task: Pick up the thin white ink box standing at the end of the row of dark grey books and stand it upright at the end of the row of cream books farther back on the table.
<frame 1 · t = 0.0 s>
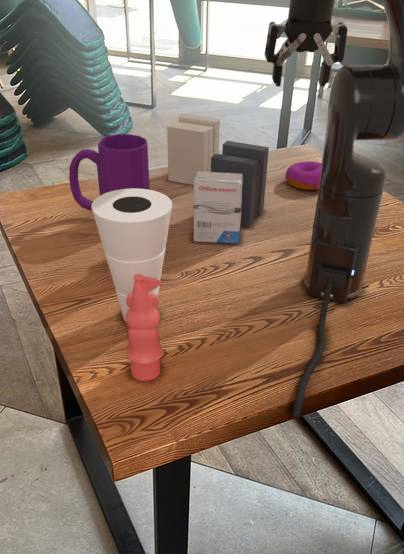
hand: (299, 84, 108), 22 cm above the table, tool pointing down, fingers open, 8 cm apart
donut: (307, 185, 128), on the table
cup: (139, 317, 87), on the table
ink box: (216, 238, 108), on the table
mug: (112, 218, 114), on the table
cream books: (193, 177, 130), on the table
grey books: (236, 215, 115), on the table
figurine: (146, 371, 77), on the table
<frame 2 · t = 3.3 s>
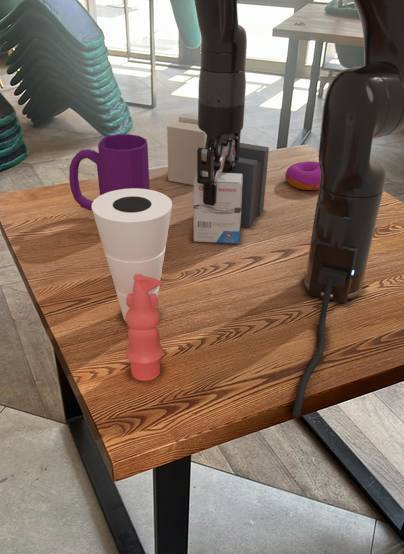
hand: (217, 195, 103), 8 cm above the table, tool pointing down, fingers open, 7 cm apart
nothing on the table moved.
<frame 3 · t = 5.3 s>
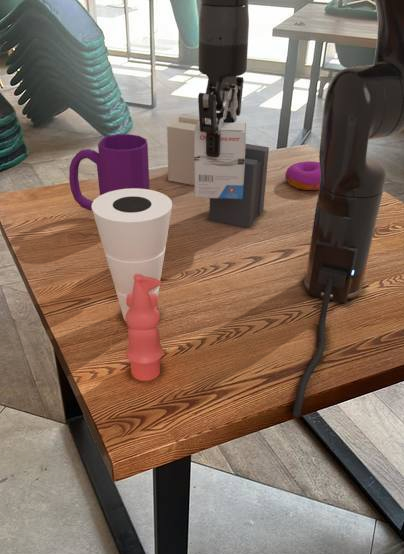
hand: (220, 150, 97), 16 cm above the table, tool pointing down, fingers closed on ink box, 5 cm apart
ink box: (219, 194, 102), point 9 cm above the table, touching gripper
everything else where it was.
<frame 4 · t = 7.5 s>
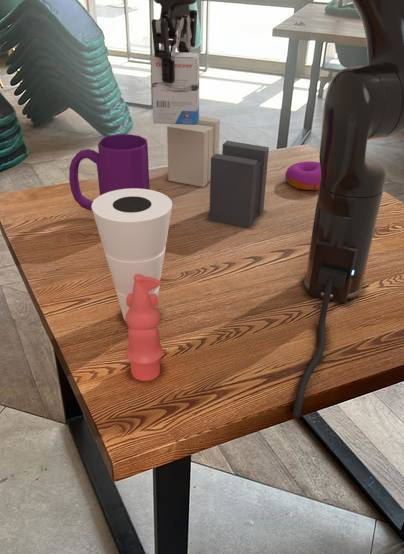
hand: (176, 78, 107), 23 cm above the table, tool pointing down, fingers closed on ink box, 5 cm apart
ink box: (176, 121, 112), point 16 cm above the table, touching gripper
everything else where it was.
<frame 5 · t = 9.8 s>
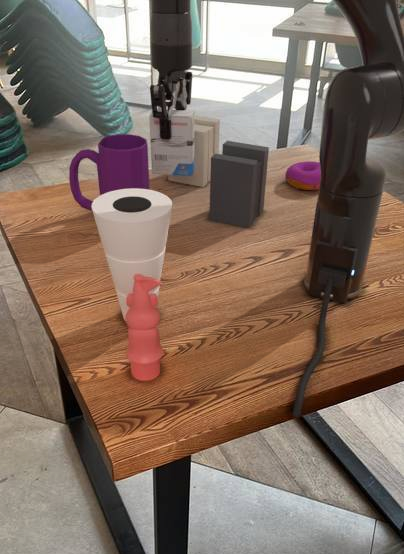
hand: (172, 133, 115), 13 cm above the table, tool pointing down, fingers closed on ink box, 5 cm apart
ink box: (173, 172, 120), point 5 cm above the table, touching gripper
everything else where it was.
when the fingers open (8 cm above the table, at t = 11.6 s): ink box stays where it is, on the table.
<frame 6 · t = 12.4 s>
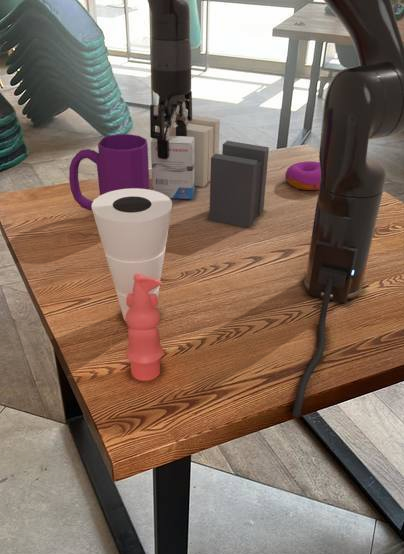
hand: (172, 151, 117), 9 cm above the table, tool pointing down, fingers open, 8 cm apart
ink box: (174, 195, 123), on the table
everything else where it was.
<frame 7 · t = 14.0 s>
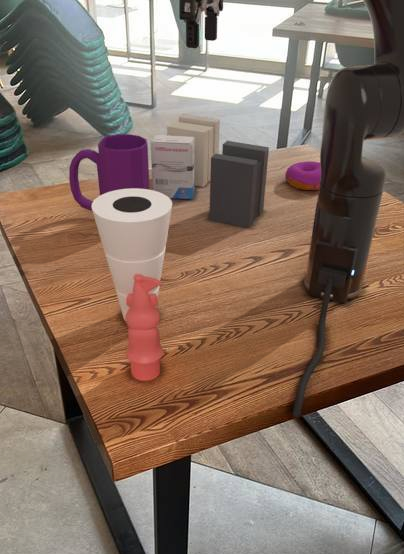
hand: (202, 43, 103), 29 cm above the table, tool pointing down, fingers open, 8 cm apart
nothing on the table moved.
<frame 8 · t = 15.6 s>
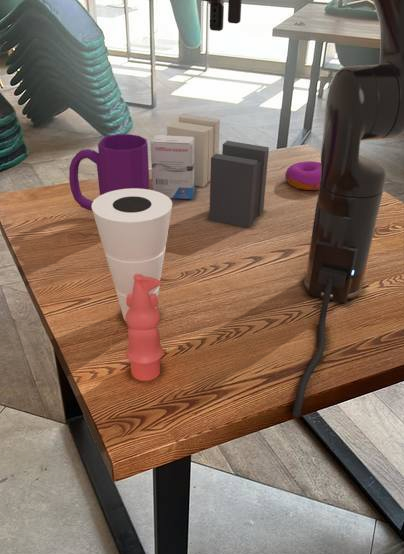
hand: (225, 26, 101), 32 cm above the table, tool pointing down, fingers open, 8 cm apart
nothing on the table moved.
at the end: ink box inside the target area on the table beside the cream books (0.2 cm from its centre), on the table; ink box tilted 0°; the gripper is holding nothing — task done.
